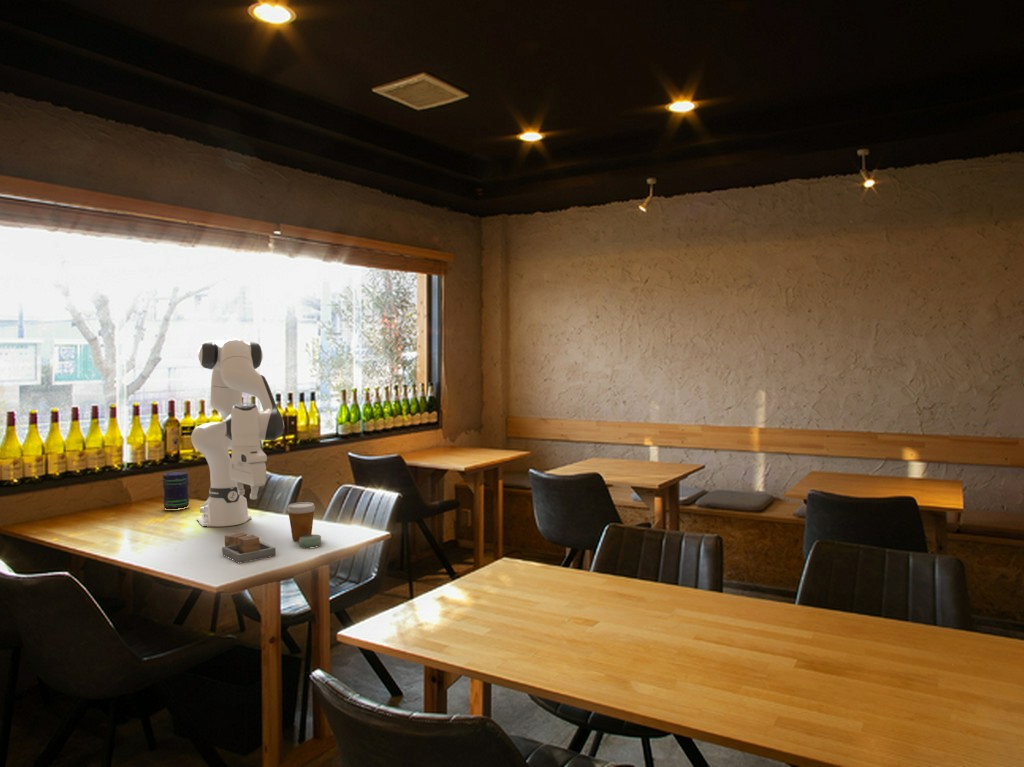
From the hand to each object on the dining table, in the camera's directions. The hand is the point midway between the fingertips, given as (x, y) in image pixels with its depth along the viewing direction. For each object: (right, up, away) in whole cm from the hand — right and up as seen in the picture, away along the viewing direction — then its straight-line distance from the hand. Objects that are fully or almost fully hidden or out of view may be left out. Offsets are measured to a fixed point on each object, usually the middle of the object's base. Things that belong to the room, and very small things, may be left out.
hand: (247, 496), depth 238 cm
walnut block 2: (0, -18, +1) cm, 18 cm away
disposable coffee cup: (+12, -18, +21) cm, 30 cm away
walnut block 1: (-7, -19, +8) cm, 21 cm away
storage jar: (-56, -16, +73) cm, 93 cm away
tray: (0, -19, +1) cm, 19 cm away
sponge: (+17, -18, +12) cm, 28 cm away
